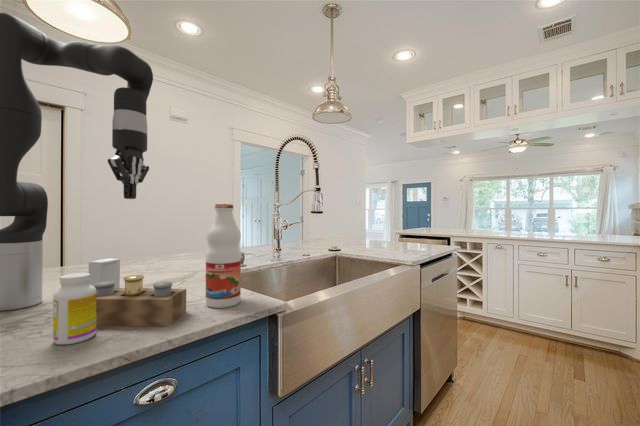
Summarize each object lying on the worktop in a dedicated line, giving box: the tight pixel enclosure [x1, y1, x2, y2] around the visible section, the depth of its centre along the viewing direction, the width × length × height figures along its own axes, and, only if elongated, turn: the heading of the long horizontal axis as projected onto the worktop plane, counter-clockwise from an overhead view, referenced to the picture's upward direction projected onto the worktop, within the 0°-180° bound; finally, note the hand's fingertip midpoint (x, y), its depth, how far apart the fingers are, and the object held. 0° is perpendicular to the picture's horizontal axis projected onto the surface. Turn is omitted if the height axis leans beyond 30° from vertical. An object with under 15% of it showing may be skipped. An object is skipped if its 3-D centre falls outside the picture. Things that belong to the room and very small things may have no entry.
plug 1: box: [94, 281, 115, 296], centre depth 68 cm, size 4×4×7 cm
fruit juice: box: [205, 203, 242, 309], centre depth 80 cm, size 9×9×28 cm
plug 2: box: [152, 281, 173, 297], centre depth 68 cm, size 4×4×7 cm
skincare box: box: [88, 257, 121, 288], centre depth 79 cm, size 6×4×12 cm
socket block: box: [96, 287, 187, 327], centre depth 68 cm, size 21×9×6 cm, turn 90°
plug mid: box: [123, 274, 145, 296], centre depth 68 cm, size 4×4×7 cm
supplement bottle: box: [52, 272, 97, 346], centre depth 57 cm, size 7×7×13 cm
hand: (129, 198), depth 73 cm, fingers closed
